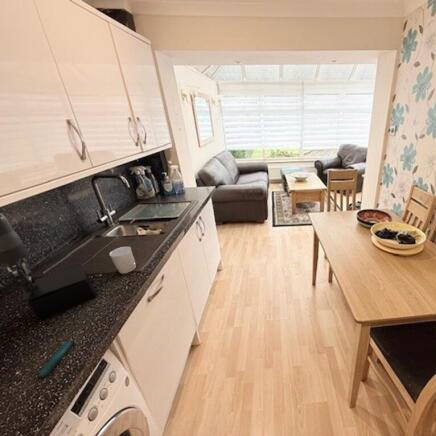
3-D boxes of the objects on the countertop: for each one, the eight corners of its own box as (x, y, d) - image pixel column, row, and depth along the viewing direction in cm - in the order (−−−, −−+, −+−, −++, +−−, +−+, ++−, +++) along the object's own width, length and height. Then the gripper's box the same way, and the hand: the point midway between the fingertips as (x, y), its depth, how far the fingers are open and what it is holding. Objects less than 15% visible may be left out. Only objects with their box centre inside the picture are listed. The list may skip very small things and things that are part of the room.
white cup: (139, 269, 109) (132, 250, 104) (119, 277, 104) (111, 258, 99) (135, 262, 114) (128, 244, 110) (116, 269, 109) (107, 251, 105)
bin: (41, 322, 83) (28, 303, 79) (41, 303, 91) (29, 285, 88) (96, 298, 93) (86, 280, 89) (91, 283, 101) (83, 266, 97)
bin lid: (23, 302, 78) (16, 290, 76) (25, 284, 87) (19, 273, 85) (86, 280, 89) (81, 269, 87) (82, 266, 97) (78, 256, 95)
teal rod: (48, 377, 65) (42, 373, 64) (40, 379, 65) (35, 375, 64) (75, 343, 74) (71, 339, 73) (68, 345, 74) (64, 340, 73)
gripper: (-10, 242, 79) (17, 283, 86) (-17, 259, 69) (14, 303, 76) (22, 234, 83) (45, 273, 90) (20, 249, 74) (46, 291, 81)
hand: (31, 287), depth 83 cm, fingers closed on bin lid, 5 cm apart
